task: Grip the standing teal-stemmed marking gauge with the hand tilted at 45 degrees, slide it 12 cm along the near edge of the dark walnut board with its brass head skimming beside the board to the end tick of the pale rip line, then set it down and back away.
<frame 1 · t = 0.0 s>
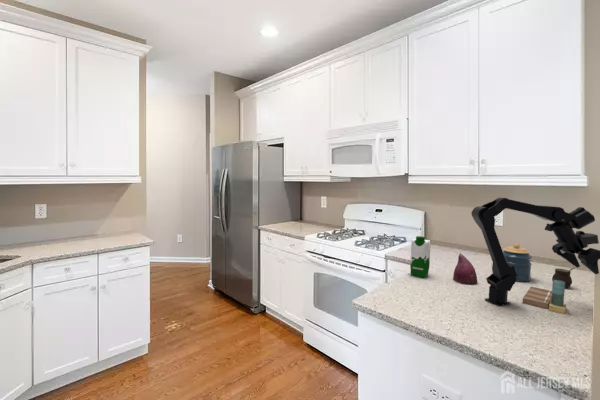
hand: (587, 270, 120), 15 cm above the countertop, tool tilted 35°, fingers open, 9 cm apart
gauge: (556, 309, 119), on the countertop
vegetable: (464, 281, 151), on the countertop
canister: (514, 278, 158), on the countertop
milk carton: (419, 275, 159), on the countertop
board: (538, 299, 129), on the countertop
mate gourd: (561, 287, 146), on the countertop
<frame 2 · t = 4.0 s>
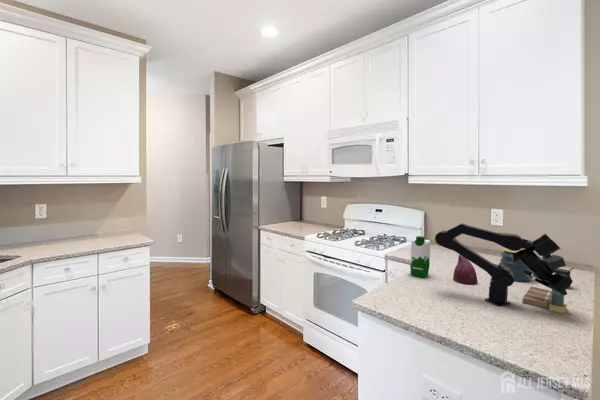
hand: (562, 292, 118), 7 cm above the countertop, tool tilted 45°, fingers closed on gauge, 4 cm apart
gauge: (556, 309, 119), on the countertop, touching gripper
everything else where it was.
when the fingers open (7 cm above the countertop, at t = 8.6 s): gauge stays where it is, on the countertop.
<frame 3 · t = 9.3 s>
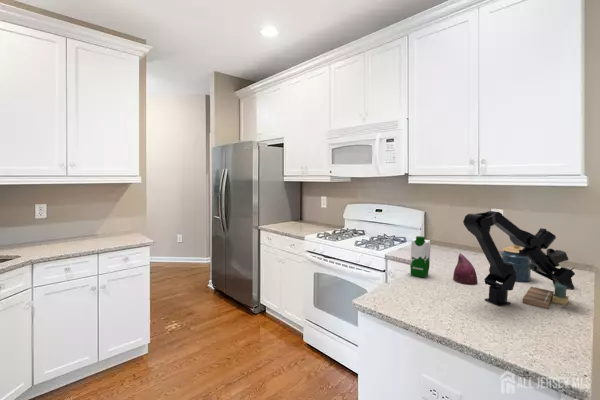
hand: (564, 285, 127), 7 cm above the countertop, tool tilted 45°, fingers open, 9 cm apart
gauge: (559, 301, 128), on the countertop
everything else where it was.
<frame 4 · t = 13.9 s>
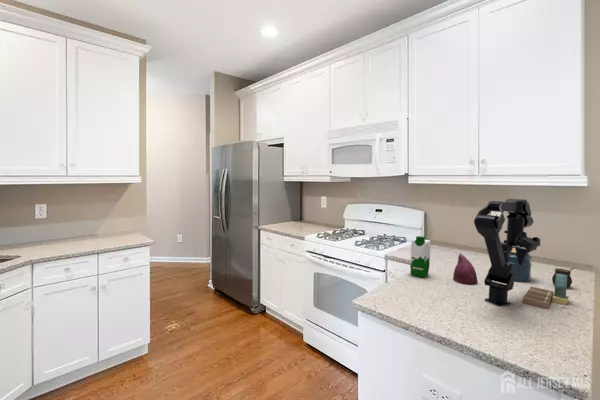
hand: (512, 265, 131), 13 cm above the countertop, tool pointing down, fingers open, 9 cm apart
nothing on the countertop moved.
at the end: gauge inside the target area (0.1 cm from its centre), on the countertop; gauge tilted 0°; the gripper is holding nothing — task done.
